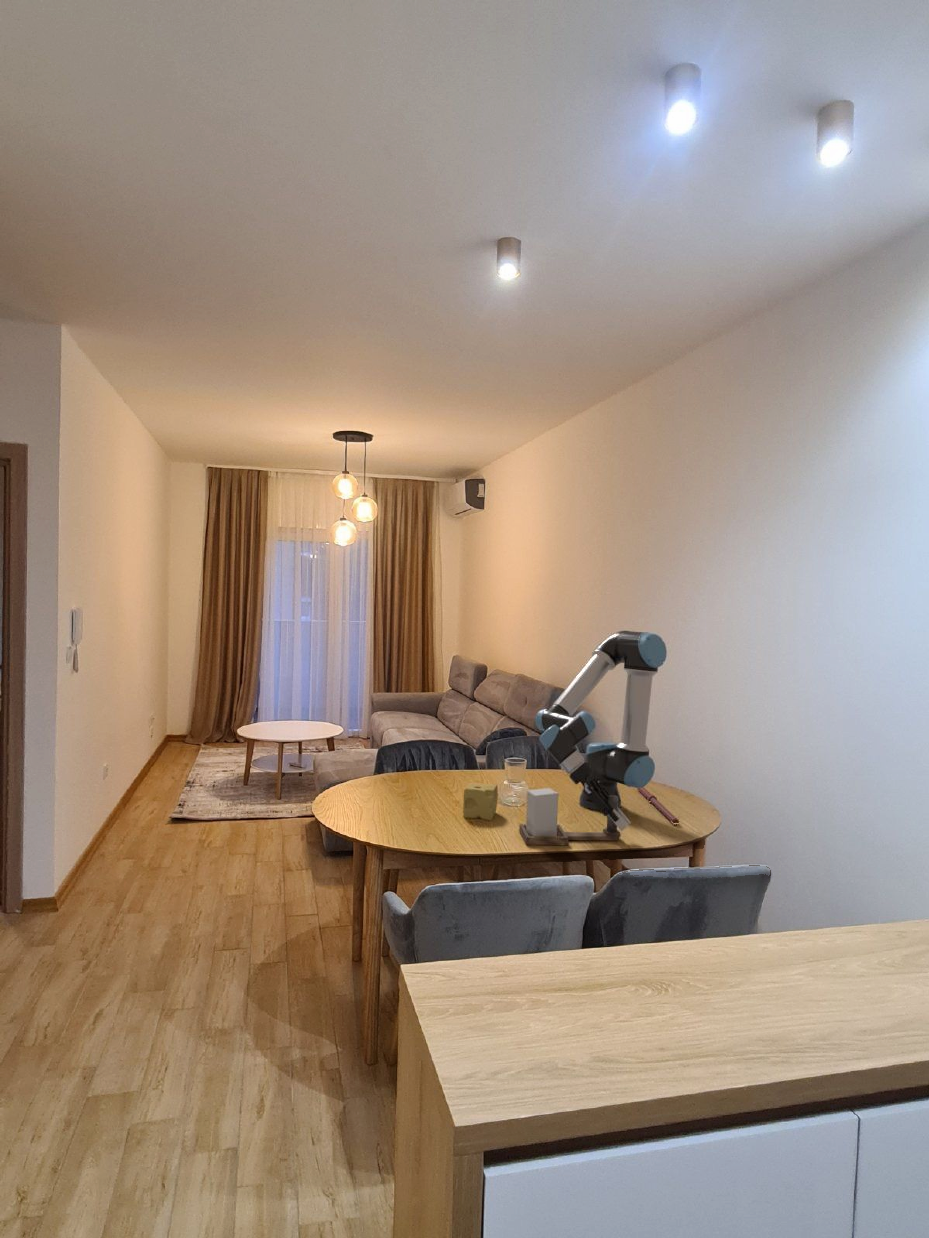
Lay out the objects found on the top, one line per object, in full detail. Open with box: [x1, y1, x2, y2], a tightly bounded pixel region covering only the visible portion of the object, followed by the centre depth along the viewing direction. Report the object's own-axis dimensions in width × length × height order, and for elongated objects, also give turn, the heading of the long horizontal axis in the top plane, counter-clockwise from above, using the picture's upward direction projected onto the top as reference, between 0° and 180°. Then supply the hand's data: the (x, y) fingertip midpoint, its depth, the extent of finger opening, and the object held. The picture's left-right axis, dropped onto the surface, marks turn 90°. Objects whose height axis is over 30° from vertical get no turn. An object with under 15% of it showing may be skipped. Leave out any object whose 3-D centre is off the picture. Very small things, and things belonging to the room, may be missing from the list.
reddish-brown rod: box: [636, 786, 680, 823], centre depth 284 cm, size 45×3×3 cm, turn 3°
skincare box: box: [525, 787, 559, 837], centre depth 241 cm, size 8×7×16 cm
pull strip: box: [518, 795, 621, 846], centre depth 244 cm, size 31×13×13 cm, turn 95°
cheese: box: [462, 782, 499, 821], centre depth 266 cm, size 10×11×10 cm
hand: (626, 826), depth 243 cm, fingers open, 3 cm apart
